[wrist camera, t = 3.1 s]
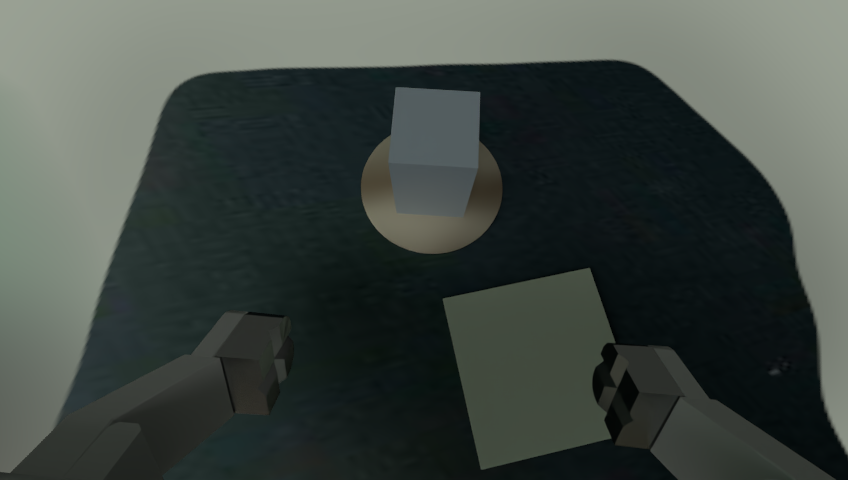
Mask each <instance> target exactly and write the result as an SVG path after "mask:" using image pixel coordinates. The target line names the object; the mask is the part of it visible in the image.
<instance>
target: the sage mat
mask: <svg viewBox="0 0 848 480" xmlns="http://www.w3.org/2000/svg"><path fill="white" fill-rule="evenodd" d="M443 303H444V307H445V312H446V316H447V321H448V325H449V329H450V334H451V338H452V343H453V347H454V352H455V356H456V361H457V365H458V370H459V374H460V379H461V383H462V387H463V392H464V396H465V401H466V405H467V410H468V414H469V419H470V423H471V428H472V432H473V437H474V441H475V445H476V450H477V454H478V459H479V463H480V468H481V470H483V469H487V468H491V467H495V466H499V465H503V464H507V463H512V462H516V461H520V460H524V459H528V458H532V457H536V456H540V455H545V454H549V453H553V452H557V451H561V450H565V449H569V448H573V447H577V446H582V445H586V444H590V443H594V442H598V441H602V440H606V439H610V438H611V436H610V433H609V431H608V429H607V426H606V424H605V422H604V419H605V416H606V414H607V412H605V411H604V410H603V409H602V408H601V407H600V406H599V405H598V404H597V402H596V400H595V397H594V393H593V389H592V376H593V373H594V370H595V367H596V366H597V365H599V364H600V363H602V362H603V361H604V360H603V358H602V356H601V351H602V349H603V346H604V345H605V344H606V343H615V340H614V337H613V334H612V331H611V328H610V325H609V323H608V320H607V317H606V314H605V311H604V308H603V305H602V302H601V299H600V296H599V293H598V291H597V288H596V285H595V282H594V279H593V276H592V273H591V270H590V268H586V269H581V270H577V271H572V272H567V273H562V274H558V275H553V276H548V277H543V278H539V279H534V280H529V281H524V282H520V283H515V284H510V285H505V286H501V287H496V288H491V289H486V290H481V291H477V292H472V293H467V294H462V295H458V296H453V297H448V298H443Z"/></svg>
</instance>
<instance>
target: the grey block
mask: <svg viewBox="0 0 848 480" xmlns="http://www.w3.org/2000/svg"><path fill="white" fill-rule="evenodd" d="M479 115H480V92H468V91H451V90H434V89H417V88H400V87H396V91H395V100H394V110H393V120H392V130H391V140H390V150H389V160H388V164H389V170H390V176H391V182H392V188H393V194H394V200H395V206H396V212H397V213H400V214H416V215H432V216H448V217H463V216H464V213H465V210H466V207H467V203H468V200H469V197H470V193H471V190H472V187H473V184H474V180H475V177H476V174H477V170H478V156H479Z"/></svg>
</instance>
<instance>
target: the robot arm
mask: <svg viewBox="0 0 848 480" xmlns="http://www.w3.org/2000/svg"><path fill="white" fill-rule="evenodd" d="M290 330H291V322H290V318H289V317H288V316H284V315H275V314H266V313H256V312H243V311H234V310H230V311H227V312H225V313H224V314H223V316H222V317H221V318H220V319H219V321H218V322H217V323H216V324H215V326H214V327H213V328H212V329H211V331H210V332H209V333H208V334H207V336H206V337H205V338H204V339H203V340H202V342H201V343H200V344H199V345H198V347H197V348H196V349H195V350H194V352H193V353H192V354H191V355H183V356H181V357H179V358H177V359H175V360H173V361H172V362H170V363H168V364H166V365H164V366H162V367H160V368H158V369H156V370H154V371H152V372H150V373H148V374H147V375H145V376H143V377H141V378H139V379H137V380H135V381H133V382H131V383H129V384H127V385H125V386H123V387H121V388H120V389H118V390H116V391H114V392H112V393H110V394H108V395H106V396H104V397H102V398H100V399H98V400H96V401H95V402H93V403H91V404H89V405H87V406H85V407H83V408H81V409H79V410H77V411H75V412H73V413H71V414H70V415H68V416H67V417H66V418H65V419H64V420H63V421H62V422H61V423H60V424H59V425H58V426H57V427H56V428H55V429H54V430H53V431H52V432H51V433H50V434H49V435H48V436H47V437H46V438H45V439H44V440H43V441H42V442H41V443H40V444H39V445H38V446H37V447H36V448H35V449H34V450H33V451H32V452H31V453H30V454H29V455H28V456H27V457H26V458H25V459H24V460H23V461H22V462H21V463H20V464H19V465H18V466H17V467H16V468H15V469H14V470H13V471H12V472H11V473H4V472H0V480H164V479H163V477H162V475H163V474H164V473H166V472H167V471H168V470H169V469H170V468H172V467H173V466H174V465H175V464H176V463H178V462H179V461H180V460H181V459H182V458H184V457H185V456H186V455H187V454H188V453H189V452H191V451H192V450H193V449H194V448H195V447H197V446H198V445H199V444H200V443H201V442H203V441H204V440H205V439H206V438H207V437H209V436H210V435H211V434H212V433H213V432H215V431H216V430H217V429H218V428H219V427H221V426H222V425H223V424H224V423H225V422H226V421H228V420H229V419H230V418H231V417H232V416H234V413H242V414H259V415H270V413H271V410H272V408H273V406H274V404H275V402H276V400H277V398H278V396H279V393H280V389H279V383H280V382H282V381H283V380H284V379H286V378H287V376H288V374H289V372H290V369H291V366H292V362H293V357H294V344H293V341H292V339H291V338H290V337H289V336H288V334H289V332H290ZM601 356H602V358H603V360H604V361H603V362H602V363H600V364H599V365H597V366H596V367H595V370H594V373H593V376H592V389H593V393H594V397H595V400H596V402H597V404H598V405H599V406H600V407H601V408H602V409H603V410H604V411H605V412H607V414H606V416H605V419H604V422H605V424H606V426H607V429H608V431H609V433H610V436H611V438H612V441H613V443H614V445H618V446H627V447H636V448H644V449H651V450H650V451H651V452H652V453H653V454H654V455H655V456H656V458H657V459H658V460H659V461H660V462H661V463H662V464H663V465H664V466H665V467H666V468H667V469H668V470H669V471H670V472H671V473H672V474H673V475H674V476H675V477H676V478H677V479H678V480H836V479H834V478H833V477H831V476H830V475H828V474H827V473H825V472H824V471H822V470H821V469H819V468H818V467H816V466H815V465H813V464H812V463H810V462H809V461H807V460H806V459H804V458H803V457H801V456H800V455H798V454H797V453H795V452H794V451H792V450H791V449H789V448H788V447H786V446H785V445H783V444H782V443H780V442H779V441H777V440H776V439H774V438H773V437H771V436H770V435H768V434H767V433H765V432H764V431H762V430H761V429H759V428H758V427H756V426H755V425H753V424H752V423H750V422H749V421H747V420H746V419H744V418H743V417H741V416H740V415H738V414H737V413H735V412H734V411H732V410H731V409H729V408H728V407H726V406H725V405H723V404H722V403H720V402H719V401H717V400H712V399H709V398H708V396H707V395H706V393H705V392H704V391H703V389H702V388H701V387H700V385H699V384H698V383H697V381H696V380H695V379H694V377H693V376H692V374H691V373H690V372H689V370H688V369H687V368H686V366H685V365H684V364H683V362H682V361H681V359H680V358H679V357H678V355H677V354H676V353H675V351H674V350H673V349H671V348H670V347H667V346H652V345H647V346H645V345H633V344H620V343H606V344H605V345H604V346H603V349H602V351H601Z"/></svg>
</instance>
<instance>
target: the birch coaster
mask: <svg viewBox="0 0 848 480" xmlns="http://www.w3.org/2000/svg"><path fill="white" fill-rule="evenodd" d="M390 140H391V136H389V137H388V138H386V139H385V140H384V141H383V142H381V143H380V144H379V145H378V147H377V148H376V149H375V150H374V151H373V153H372V154H371V156H370V157H369V159H368V161H367V163H366V165H365V168H364V171H363V175H362V180H361V194H362V201H363V205H364V208H365V210H366V213H367V215H368V217H369V219H370V220H371V222H372V224H373V225H374V226H375V228H376V229H377V230H378V231H379V232H380V233H381V234H382V235H383V236H384V237H385V238H387V239H388V240H389V241H391V242H392V243H394V244H396V245H398V246H399V247H402V248H404V249H407V250H410V251H414V252H418V253H425V254H440V253H447V252H451V251H455V250H458V249H460V248H463V247H465V246H467V245H469V244H470V243H472V242H474V241H475V240H476V239H478V238H479V237H480V236H481V235H482V234H483V233H484V232H485V231H486V230H487V229H488V228H489V226H490V225H491V224H492V222H493V220H494V219H495V217H496V215H497V213H498V210H499V207H500V204H501V199H502V179H501V174H500V171H499V168H498V165H497V163H496V161H495V159H494V158H493V156H492V155H491V153H490V152H489V150H488V149H487V148H486V147H485V146H484V145H483V144H482V143H481V142H480V141H479V156H478V170H477V174H476V177H475V180H474V184H473V187H472V190H471V193H470V197H469V200H468V203H467V207H466V210H465V213H464V216H463V217H448V216H432V215H416V214H400V213H397V212H396V206H395V200H394V194H393V188H392V182H391V176H390V170H389V164H388V160H389V150H390Z"/></svg>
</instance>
